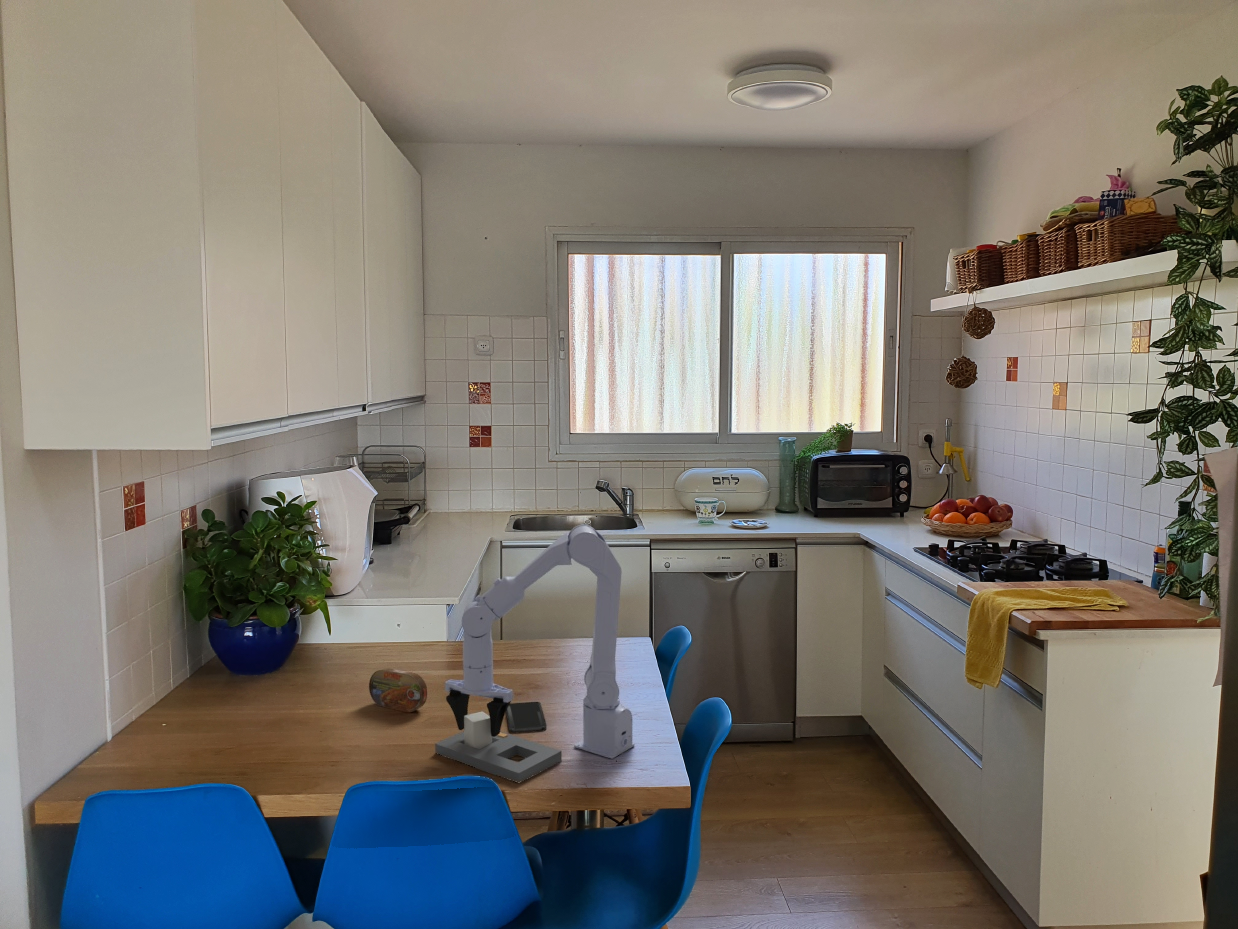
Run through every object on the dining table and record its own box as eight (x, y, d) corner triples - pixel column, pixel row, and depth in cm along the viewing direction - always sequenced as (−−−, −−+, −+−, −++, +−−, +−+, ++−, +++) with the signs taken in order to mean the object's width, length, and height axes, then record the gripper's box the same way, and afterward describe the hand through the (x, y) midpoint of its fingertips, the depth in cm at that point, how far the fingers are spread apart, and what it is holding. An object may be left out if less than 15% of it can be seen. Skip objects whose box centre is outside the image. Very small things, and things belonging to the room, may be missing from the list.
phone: (509, 729, 183) (505, 703, 198) (509, 735, 183) (505, 708, 198) (547, 727, 184) (540, 701, 199) (547, 732, 184) (540, 706, 199)
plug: (492, 752, 174) (491, 717, 173) (473, 757, 171) (473, 722, 171) (482, 745, 177) (482, 711, 176) (464, 750, 175) (464, 715, 174)
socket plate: (561, 760, 170) (561, 749, 169) (519, 783, 160) (518, 772, 160) (479, 733, 182) (479, 723, 182) (435, 753, 173) (435, 742, 173)
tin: (368, 704, 199) (367, 667, 198) (378, 699, 202) (377, 663, 201) (420, 716, 192) (419, 678, 191) (430, 711, 195) (429, 674, 194)
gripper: (520, 663, 173) (521, 730, 174) (458, 653, 179) (459, 718, 180) (501, 673, 167) (502, 743, 168) (437, 663, 173) (439, 731, 174)
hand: (479, 731), depth 174 cm, fingers open, 7 cm apart
